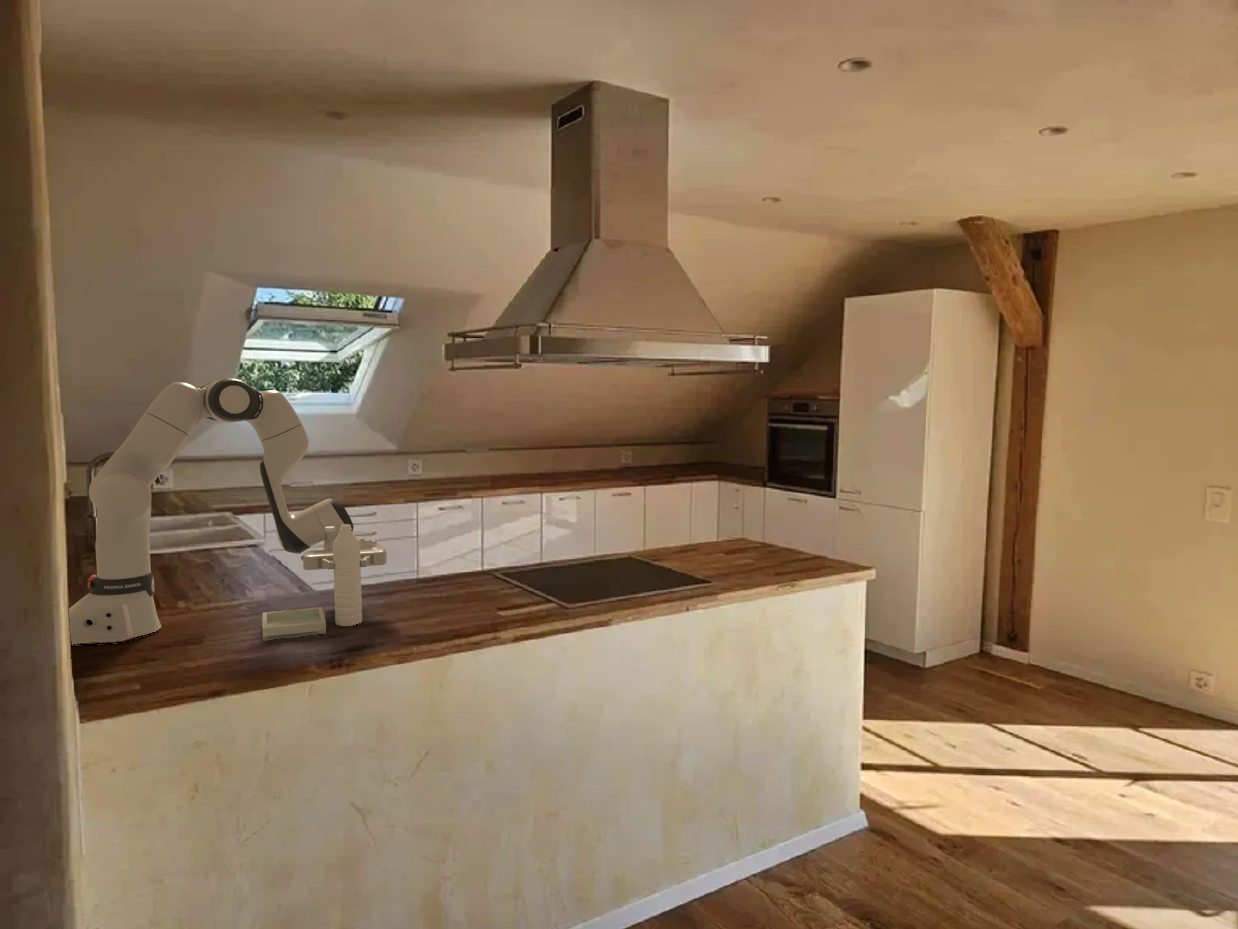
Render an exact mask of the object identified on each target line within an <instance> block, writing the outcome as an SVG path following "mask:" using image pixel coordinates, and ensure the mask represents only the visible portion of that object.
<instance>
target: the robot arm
mask: <svg viewBox="0 0 1238 929" xmlns="http://www.w3.org/2000/svg"><path fill="white" fill-rule="evenodd" d="M204 419H209V420H212V421H216V422H221V423H227V424H229V423H236V422H242V421H243V422H244V421H246V422H247V423H249V424H250V426H252V427H253V429H254V430H255V432H256V434H257V436H258V439H259V440H260V443H261V444H262V448H263V459H262V460H261V461H260V462H259V472H260V473H259V474H260V477H261V480H262V484H263V488H264V490H265V495H266V497H267V500H268V504H269V507H270V510H271V513H272V517H273V519H274V524H275V532H276V537H277V540H278V543H279V545H280V546H281V548H282V549H283V550H284V551H285V552H288V553H291V554H299V555H300V554H301V553H304V552H305V553H304V554H303V555H302V556H300V560H301V561H302V566H303V570H305V571H315V570H317V571H318V570H334V561H333V558H334V557H333V543H334V541H335V539H336V537H337V536H338V534H339V533H340V531H341V529H340V528H341V525H345V524H349V525H351V528H352V529H351V531H352V532H353V531H354V527H355V526H354V523H353V521H352V519H351V516H350V514H349V513H348V511H347V509H346V508H345V506H344V505H343V504H342V502H340V501H338V500H337V499H333V498H331V497H330V498H327V499H324V500H322V501H319V502H318V503H315V504H313V505H312V506H310V507H307V508H306V509H302V510H301V511H299V512H297V513H294V514H293V513H290V512H289V510H288V506H287V504H286V500H285V496H284V492H283V489H282V483H283V480H284V478H285V477H286V476H287V474H288V473H289V472H290V471H291V470H293V468H294V467H295V466H296V465H297V464H298V463H300V462H301V460H302V459H303V458H304V457H305V455H306V453H307V451H308V448H309V437H308V434H307V432H306V429H305V428H304V424H303V423H302V421H301V419H300V417H299V415H298V414H297V412H296V410H295V409H294V407H293V406H292V405H291V403H290V401H289V400H288V398H286V396H285V395H284V394H283V393H282V392H281V391H279V390H274V389H272V390H271V389H270V390H269V389H267V390H263V391H261V392H260V391H259V390H257V389H255V388H254V387H253V386H251V385H250V384H248V383H247V382H245V381H243V380H241V379H237V378H234V377H232V378H231V377H228V378H227V377H226V378H225V377H223V378H219V379H216V380H213V381H212V382H209V383H207V384H205V385H203V386H201V387H199V388H198V387H196V386H194V385H192V384H190V383H187V382H183V381H176V382H172V383H170V384H169V385H167V386H166V387H165V388H163V390H162V391H161V392H160V393H159V394H158V395H157V396H156V398H155V399H153V401H152V402H151V404H150V405H149V406H148V408H147V409H146V410H145V411H144V413H143V414H142V416H141V417H140V418H139V420H138V421H137V423H136V424H135V426H134V428H133V429H132V430H131V431H130V433H129V435H127V438H126V439H125V440H124V442H123V443H121V445H120V446H119V447H118V448H117V449H116V451H115V452H114V453H113V454H112V455H111V457H110V458H108V460H107V461H106V462H105V463H104V465H103V466H102V467H101V469H100V470H99V471H98V472H97V473H96V475H95V476H94V478H92V480H91V482H90V484H89V488H88V495H89V499H90V502H91V503H92V504H93V506H94V507H95V508H96V535H95V536H96V538H95V543H94V544H95V545H94V546H95V559H96V560H95V561H96V574H92V575H91V576H89V577H88V579H87V591H88V593H87V594H86V595H84V596H83V597H82V598H81V599H79V600H78V601H77V602H76V603H74V604H73V605H72V606H70V607H69V608H68V609H69V618H70V635H71V641H72V646H73V644H78V643H79V644H80V643H90V642H91V643H92V642H100V643H102V642H104V643H105V642H116V641H123V640H126V639H129V638H133V637H137V636H141V635H145V634H149V633H152V632H155V633H156V631H157V630H158V631H160V630H161V629H162V627H161V626H162V624H161V622H160V619H159V616H158V613H157V609H156V604H155V601H154V594H155V578H154V572H153V570H151V550H150V549H151V548H150V532H151V522H152V521H151V520H152V519H151V518H152V499H153V498H152V497H153V496H152V491H151V488H150V487H151V486H152V484H154V482H156V480H157V478H158V477H160V475H161V474H162V473H163V472H164V471H165V470H166V469H167V468H168V467H169V466H170V465H171V464H172V463H173V461H174V460H175V458H176V457H177V455H178V454H179V452H180V451H181V449H182V448H183V446H184V445H185V444H186V442H187V440H188V439H189V437H190V436H191V434H192V433H193V431H194V430H195V428H196V426H197V425H198V424H199V423H200V422H201V421H203V420H204ZM327 526H334V527H335V531H333V532H325V527H327ZM326 531H327V530H326ZM330 531H332V530H330ZM353 533H354V532H353ZM357 539H358V540H359V542H360V563H361V565H360V566H361V568H367V567H372V566H384V565H386V564H387V561H388V560H387V559H388V558H387V551H386V549H385V548H384V546H383V545H381V544H378V541H377V540H376V539H361V538H357ZM321 542H322V543H323V544H322V550H321V549H320V550H309V551H308V549H311V547H313V546H315V545H317V544H319V543H321ZM160 628H161V629H160ZM159 629H160V630H159ZM158 631H157V632H158ZM152 634H153V633H152ZM73 647H74V646H73Z"/></svg>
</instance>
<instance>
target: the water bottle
mask: <svg viewBox="0 0 1238 929" xmlns="http://www.w3.org/2000/svg"><path fill="white" fill-rule="evenodd" d="M340 529H341V531H340V533H339V534H338V536H337V537H336V539H335V541H334V543H333V557H334V558H333V561H334V569H333V583H334V584H333V591H334V596H333V598H334V612H335V614H334V620H335V621H334V622H335V625H336V626H338V625H339V626H338V627H354V626H356V624H358V625H360V624H361V623H362V622H363V612H362V611H363V605H362V603H363V600H362V599H363V598H362V592H363V591H362V572H361V571H362V570H361V568H362V567H361V566H360V565H361V563H360V542H359V540H358V539H359V538H358V537H357V536H356V535H355V534H354V532H352V531H351V529H352V528H351V525H349V524H345V525H341V528H340ZM326 530H327V531H326ZM330 530H332V531H330ZM333 531H335V527H334V526H327V527H325V532H333ZM359 623H360V624H359ZM353 625H354V626H353Z"/></svg>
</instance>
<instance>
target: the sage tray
mask: <svg viewBox="0 0 1238 929" xmlns="http://www.w3.org/2000/svg"><path fill="white" fill-rule="evenodd" d="M261 621H262V622H261V623H262V625H261V626H262V628H261V629H262V641H264V642H267V641H274V639H277V640H281V639H280V638H286V639H295V638H302V637H301V636H305V637H308V636H307V635H314V636H316V635H315V634H322V633H324V635H326V634H327V622H326V618H325V612H324V609H323V606H319V607H309V608H296V609H288V610H287V609H286V610H277V611H268V612H266V611H265V612H262V620H261ZM325 633H326V634H325ZM294 637H295V638H294Z"/></svg>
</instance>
